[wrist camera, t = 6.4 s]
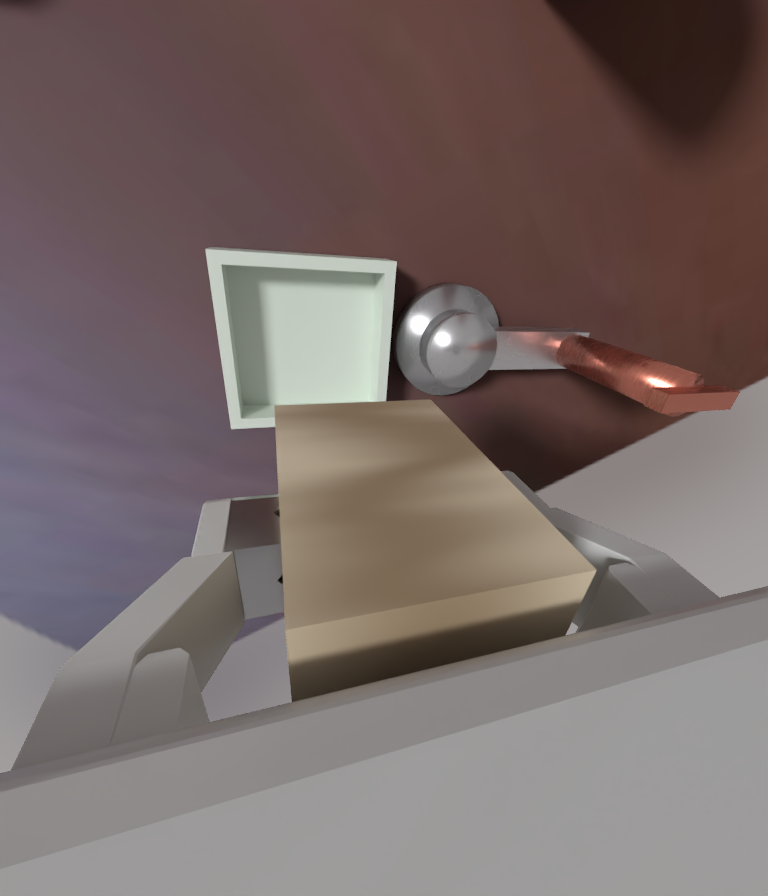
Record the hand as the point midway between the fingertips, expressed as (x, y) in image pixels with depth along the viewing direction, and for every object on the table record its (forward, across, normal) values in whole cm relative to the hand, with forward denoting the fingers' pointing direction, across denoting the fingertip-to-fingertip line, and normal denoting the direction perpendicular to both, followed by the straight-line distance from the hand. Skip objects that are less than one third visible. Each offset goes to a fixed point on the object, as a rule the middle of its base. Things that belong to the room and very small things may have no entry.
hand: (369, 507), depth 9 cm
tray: (+16, 0, 0) cm, 16 cm away
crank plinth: (+16, -9, 0) cm, 19 cm away
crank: (+15, -13, 0) cm, 20 cm away
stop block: (+2, 0, 0) cm, 2 cm away
